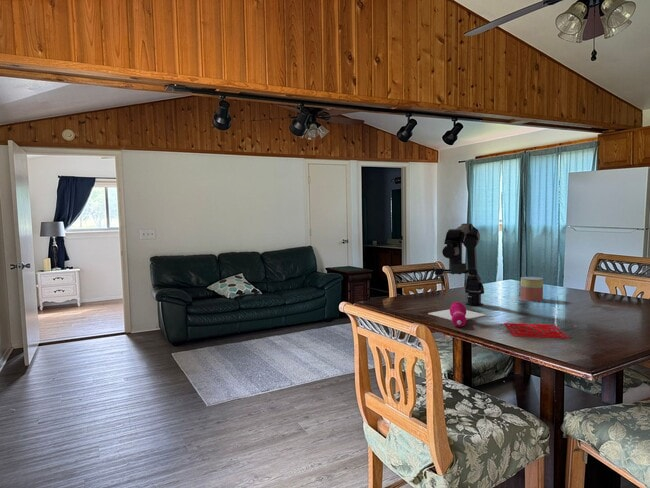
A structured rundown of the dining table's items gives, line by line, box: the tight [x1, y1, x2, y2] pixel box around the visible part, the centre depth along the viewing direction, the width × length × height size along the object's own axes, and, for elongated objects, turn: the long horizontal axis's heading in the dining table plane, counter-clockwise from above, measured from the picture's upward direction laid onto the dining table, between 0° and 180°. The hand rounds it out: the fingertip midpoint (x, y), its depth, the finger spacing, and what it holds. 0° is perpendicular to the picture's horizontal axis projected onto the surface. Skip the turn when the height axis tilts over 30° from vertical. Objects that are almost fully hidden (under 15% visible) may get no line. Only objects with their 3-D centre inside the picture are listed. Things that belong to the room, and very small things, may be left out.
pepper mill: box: [449, 301, 467, 328], centre depth 190 cm, size 7×7×20 cm
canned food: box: [519, 276, 544, 303], centre depth 237 cm, size 11×11×12 cm
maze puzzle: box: [503, 322, 570, 339], centre depth 177 cm, size 20×20×1 cm
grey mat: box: [427, 308, 487, 321], centre depth 206 cm, size 20×18×1 cm
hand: (455, 289), depth 200 cm, fingers open, 9 cm apart
